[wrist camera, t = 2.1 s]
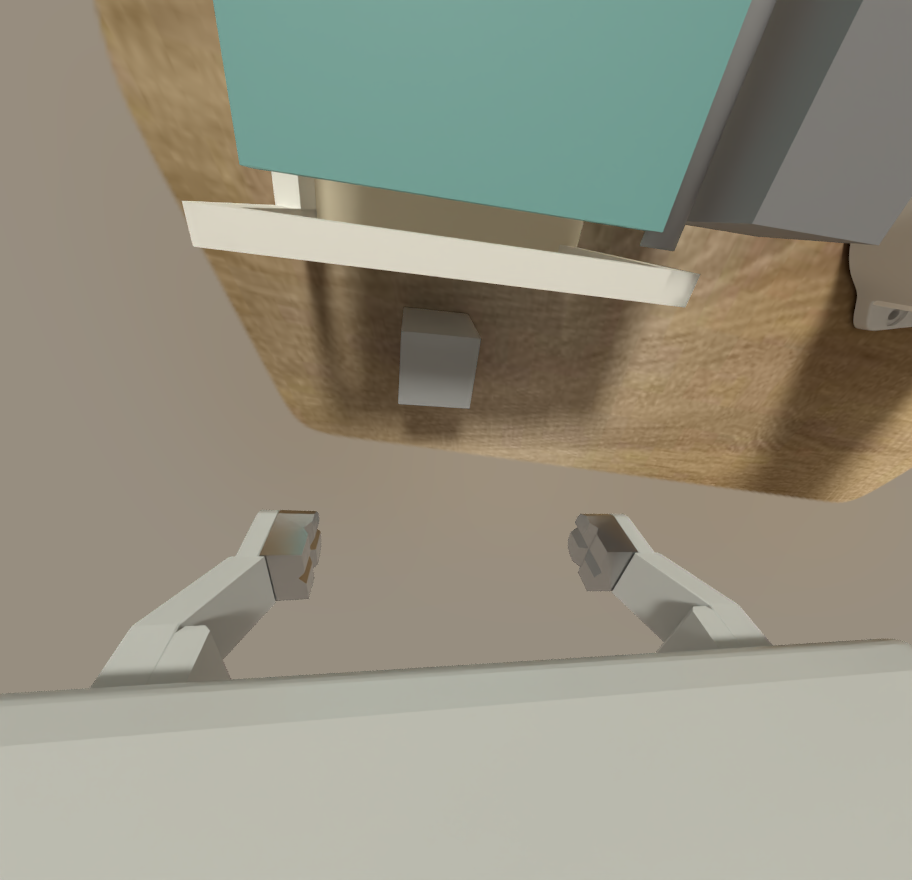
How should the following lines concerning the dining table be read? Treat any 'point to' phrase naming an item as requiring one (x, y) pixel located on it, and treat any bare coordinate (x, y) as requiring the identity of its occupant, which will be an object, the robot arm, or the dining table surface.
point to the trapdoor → (590, 107)
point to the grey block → (437, 358)
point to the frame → (428, 240)
